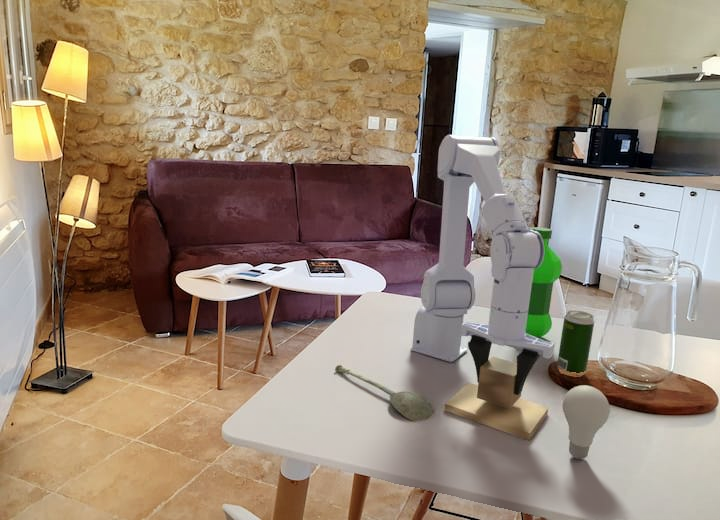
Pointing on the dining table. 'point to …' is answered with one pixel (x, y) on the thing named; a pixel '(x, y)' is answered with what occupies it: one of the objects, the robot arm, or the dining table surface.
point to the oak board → (498, 412)
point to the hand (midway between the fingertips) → (499, 386)
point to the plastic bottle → (542, 289)
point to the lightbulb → (584, 417)
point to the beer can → (575, 341)
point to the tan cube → (498, 382)
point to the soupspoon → (401, 399)
